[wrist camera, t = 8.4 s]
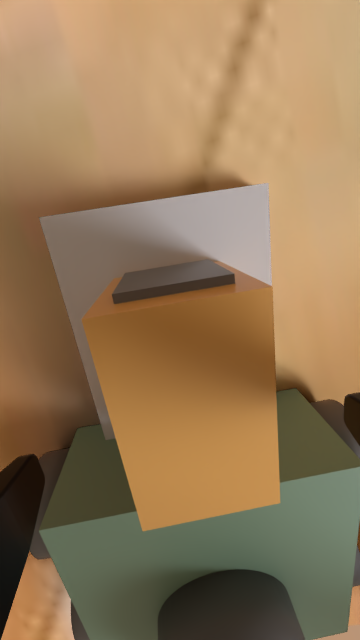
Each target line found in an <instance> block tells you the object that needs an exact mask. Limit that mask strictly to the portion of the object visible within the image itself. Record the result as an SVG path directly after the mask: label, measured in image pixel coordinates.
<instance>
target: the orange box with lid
mask: <svg viewBox="0 0 360 640" xmlns="http://www.w3.org/2000/svg"><path fill="white" fill-rule="evenodd" d="M81 320H82V324H83V327H84V331H85V334H86V337H87V341H88V344H89V348H90V351H91V355H92V358H93V362H94V365H95V369H96V372H97V375H98V379H99V382H100V386H101V389H102V393H103V396H104V400H105V403H106V407H107V410H108V413H109V417H110V420H111V424H112V427H113V431H114V434H115V438H116V441H117V445H118V448H119V451H120V455H121V458H122V462H123V465H124V469H125V472H126V476H127V479H128V483H129V486H130V490H131V493H132V496H133V500H134V503H135V507H136V510H137V514H138V517H139V521H140V524H141V528H142V531H147V530H152V529H157V528H162V527H167V526H172V525H177V524H181V523H186V522H191V521H196V520H201V519H206V518H211V517H215V516H220V515H225V514H230V513H235V512H240V511H245V510H249V509H254V508H259V507H264V506H269V505H274V504H279V503H280V479H279V452H278V425H277V397H276V370H275V342H274V315H273V288H272V286H270V285H268V284H266V283H264V282H262V281H260V280H258V279H256V278H254V277H252V276H250V275H247V274H245V273H243V272H241V271H239V270H237V269H235V268H233V267H231V266H229V265H227V264H225V263H222V262H220V261H216V262H212V261H210V260H209V259H206V260H200V261H194V262H188V263H182V264H176V265H170V266H164V267H158V268H152V269H146V270H140V271H134V272H128V273H125V274H124V276H123V277H120V278H114V279H113V280H112V281H111V283H110V284H109V285H108V286H107V288H106V289H105V290H104V291H103V293H102V294H101V295H100V296H99V298H98V299H97V300H96V301H95V303H94V304H93V305H92V306H91V308H90V309H89V310H88V311H87V313H86V314H85V315H84V316H83V318H82V319H81Z"/></svg>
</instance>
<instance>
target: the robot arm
mask: <svg viewBox="0 0 360 640" xmlns="http://www.w3.org/2000/svg"><path fill="white" fill-rule="evenodd" d="M343 418H344V422H345V425H346V427H347V428H348V430H349V431H350V433H351V434H352V436H353V437H354V439H355V440H356V442H357V443H358V445H359V446H360V392H359V393H353V394H348V395H346V397H345V401H344V415H343ZM44 486H45V475H44V472H43V470H42V468H41V465H40V463H39V461H38V458H37V456H36V455H34V454H29V455H24V456H20V457H18V458H16V459H15V460H14V461H13V462H12V463H10V464H9V465H8V466H7V467H6V468H5V469H3V470H2V471H1V472H0V640H1V637H2V634H3V631H4V628H5V625H6V622H7V619H8V616H9V613H10V609H11V606H12V603H13V600H14V597H15V594H16V591H17V588H18V585H19V582H20V579H21V575H22V572H23V569H24V566H25V563H26V560H27V557H28V553H29V550H30V547H31V543H32V539H33V535H34V530H35V526H36V521H37V517H38V513H39V508H40V504H41V499H42V495H43V491H44Z"/></svg>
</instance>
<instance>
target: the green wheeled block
mask: <svg viewBox="0 0 360 640" xmlns="http://www.w3.org/2000/svg"><path fill="white" fill-rule="evenodd" d="M39 220H40V223H41V226H42V230H43V233H44V236H45V240H46V243H47V246H48V250H49V253H50V256H51V260H52V263H53V266H54V270H55V273H56V276H57V280H58V283H59V286H60V290H61V293H62V296H63V300H64V303H65V306H66V310H67V313H68V316H69V320H70V323H71V326H72V330H73V333H74V336H75V340H76V343H77V346H78V350H79V353H80V356H81V360H82V363H83V366H84V370H85V373H86V376H87V380H88V383H89V386H90V390H91V393H92V396H93V400H94V403H95V406H96V410H97V413H98V416H99V420H100V423H101V424H98V425H93V426H87V427H82V428H77V431H76V434H75V436H74V439H73V441H72V444H71V447H70V448H67V449H61V450H56V451H51V452H47V453H45V454H44V455H43V456H42V457H41V458H40V459H39V460H38V461H39V463H40V465H41V468H42V470H43V472H44V475H45V486H44V491H43V495H42V499H41V504H40V508H39V513H38V517H37V521H36V526H35V530H34V535H33V539H32V543H31V547H30V552H31V554H32V555H33V556H34V557H35V558H37V559H46V558H52V560H53V562H54V564H55V567H56V569H57V571H58V573H59V575H60V577H61V579H62V581H63V584H64V586H65V588H66V590H67V592H68V594H69V596H70V598H71V622H72V630H73V635H74V639H75V640H313V639H317V638H321V637H326V636H331V635H335V634H340V633H344V632H347V630H348V621H349V612H350V603H351V594H352V587H354V586H358V585H360V552H359V549H358V546H357V540H358V531H359V522H360V446H359V445H358V443H357V442H356V440H355V439H354V437H353V436H352V434H351V433H350V431H349V430H348V428H347V427H346V425H345V422H344V418H343V415H344V406H343V405H342V404H341V403H339V402H337V401H335V400H330V399H329V400H323V401H318V402H313V403H309V402H308V401H307V400H306V399H305V398H304V397H303V395H302V394H301V393H300V392H299V391H298V390H297V389H296V388H294V389H288V390H283V391H277V392H276V397H277V425H278V452H279V479H280V503H279V504H274V505H269V506H264V507H259V508H254V509H249V510H245V511H240V512H235V513H230V514H225V515H220V516H215V517H211V518H206V519H201V520H196V521H191V522H186V523H181V524H177V525H172V526H167V527H162V528H157V529H152V530H147V531H142V528H141V524H140V521H139V517H138V514H137V510H136V507H135V503H134V500H133V496H132V493H131V490H130V486H129V483H128V479H127V476H126V472H125V469H124V465H123V462H122V458H121V455H120V451H119V448H118V445H117V441H116V438H115V434H114V431H113V427H112V424H111V420H110V417H109V413H108V410H107V407H106V403H105V400H104V396H103V393H102V389H101V386H100V382H99V379H98V375H97V372H96V369H95V365H94V362H93V358H92V355H91V351H90V348H89V344H88V341H87V337H86V334H85V331H84V327H83V324H82V320H81V319H82V318H83V316H84V315H85V314H86V313H87V311H88V310H89V309H90V308H91V306H92V305H93V304H94V303H95V301H96V300H97V299H98V298H99V296H100V295H101V294H102V293H103V291H104V290H105V289H106V288H107V286H108V285H109V284H110V283H111V281H112V280H113V279H114V278H120V277H123V276H124V274H125V273H128V272H134V271H140V270H146V269H152V268H158V267H164V266H170V265H176V264H182V263H188V262H194V261H200V260H206V259H209V260H210V261H212V262H216V261H220V262H222V263H225V264H227V265H229V266H231V267H233V268H235V269H237V270H239V271H241V272H243V273H245V274H247V275H250V276H252V277H254V278H256V279H258V280H260V281H262V282H264V283H266V284H268V285H270V286H272V278H271V248H270V217H269V186H268V183H264V184H258V185H251V186H244V187H238V188H231V189H224V190H218V191H211V192H204V193H198V194H191V195H184V196H178V197H171V198H164V199H158V200H151V201H144V202H138V203H131V204H124V205H118V206H111V207H104V208H98V209H91V210H84V211H78V212H71V213H64V214H58V215H51V216H44V217H39Z"/></svg>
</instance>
